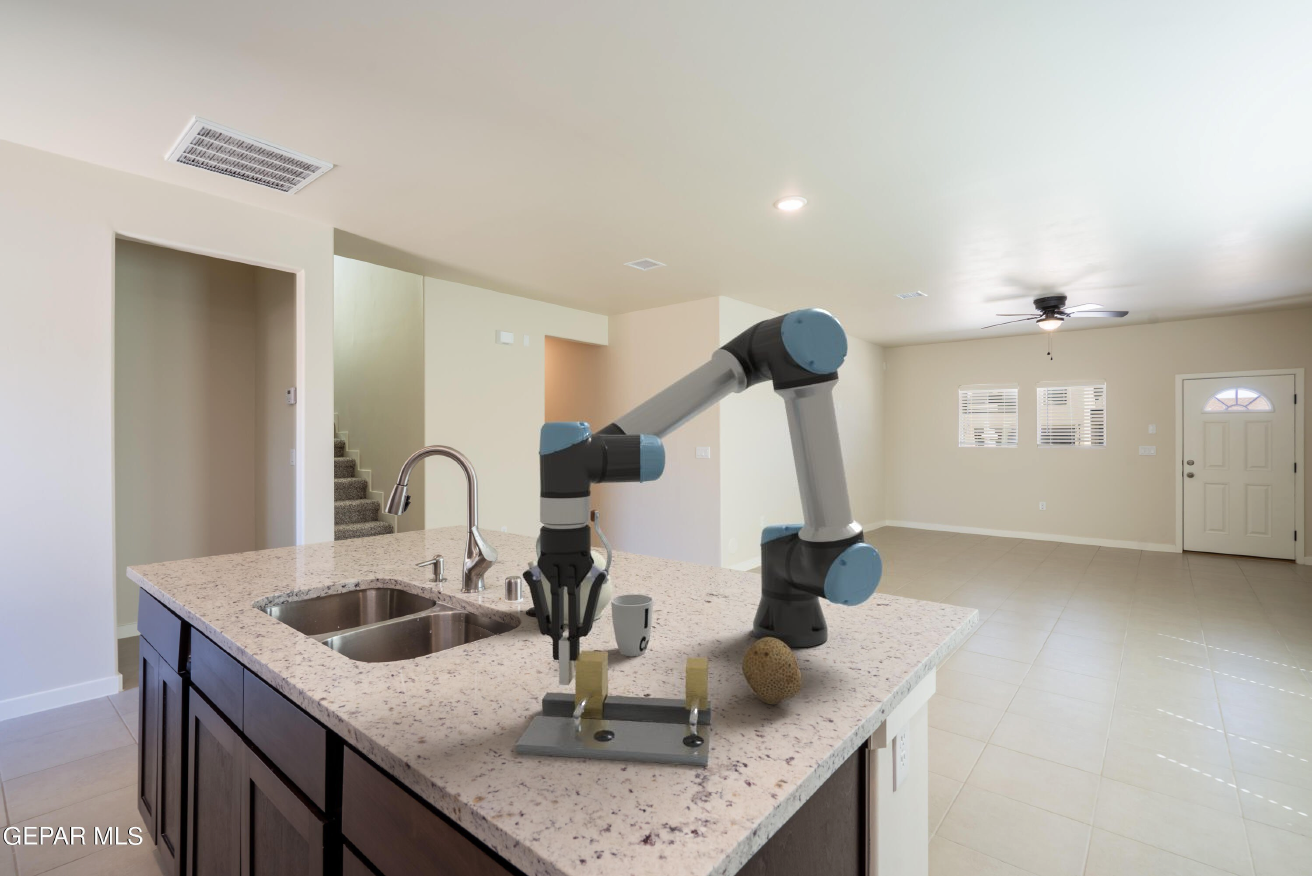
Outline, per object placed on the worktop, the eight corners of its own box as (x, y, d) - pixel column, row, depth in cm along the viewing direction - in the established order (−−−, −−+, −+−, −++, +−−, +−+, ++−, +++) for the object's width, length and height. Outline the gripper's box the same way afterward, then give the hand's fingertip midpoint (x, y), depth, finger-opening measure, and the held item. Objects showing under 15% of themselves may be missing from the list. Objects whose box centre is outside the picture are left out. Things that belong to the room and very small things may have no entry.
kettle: (634, 612, 141) (633, 506, 141) (584, 634, 126) (583, 515, 125) (553, 597, 154) (553, 501, 154) (500, 615, 139) (499, 508, 139)
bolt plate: (709, 734, 84) (709, 725, 84) (707, 765, 76) (707, 755, 76) (536, 724, 87) (536, 715, 87) (516, 753, 79) (516, 743, 79)
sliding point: (608, 704, 92) (608, 651, 92) (591, 742, 81) (590, 681, 80) (582, 703, 92) (582, 650, 92) (562, 740, 81) (561, 679, 81)
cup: (648, 660, 111) (648, 606, 111) (606, 657, 113) (606, 604, 113) (657, 645, 119) (657, 595, 119) (617, 642, 121) (617, 593, 121)
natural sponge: (738, 688, 98) (738, 628, 98) (793, 689, 98) (793, 628, 98) (745, 714, 89) (744, 647, 89) (805, 715, 89) (805, 648, 89)
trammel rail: (711, 714, 89) (711, 658, 89) (708, 753, 79) (708, 689, 79) (548, 705, 93) (548, 651, 93) (524, 741, 82) (523, 680, 82)
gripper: (613, 521, 93) (613, 673, 93) (532, 520, 95) (532, 669, 95) (602, 528, 86) (603, 693, 86) (514, 527, 87) (515, 689, 87)
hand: (566, 680), depth 90 cm, fingers closed
